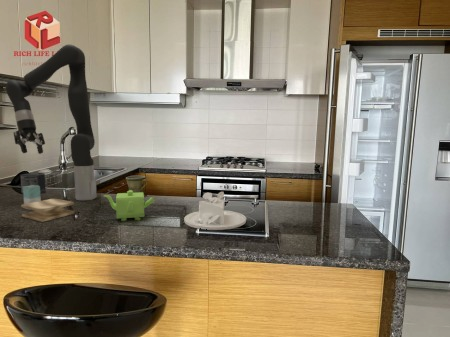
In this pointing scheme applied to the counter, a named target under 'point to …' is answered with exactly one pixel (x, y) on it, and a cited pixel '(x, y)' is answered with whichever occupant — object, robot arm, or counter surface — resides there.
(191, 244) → the counter surface
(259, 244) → the counter surface
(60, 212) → the stand
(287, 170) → the counter surface
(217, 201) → the dish
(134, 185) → the ceramic cup
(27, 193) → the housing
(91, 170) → the robot arm
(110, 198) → the kettle
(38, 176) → the small box
